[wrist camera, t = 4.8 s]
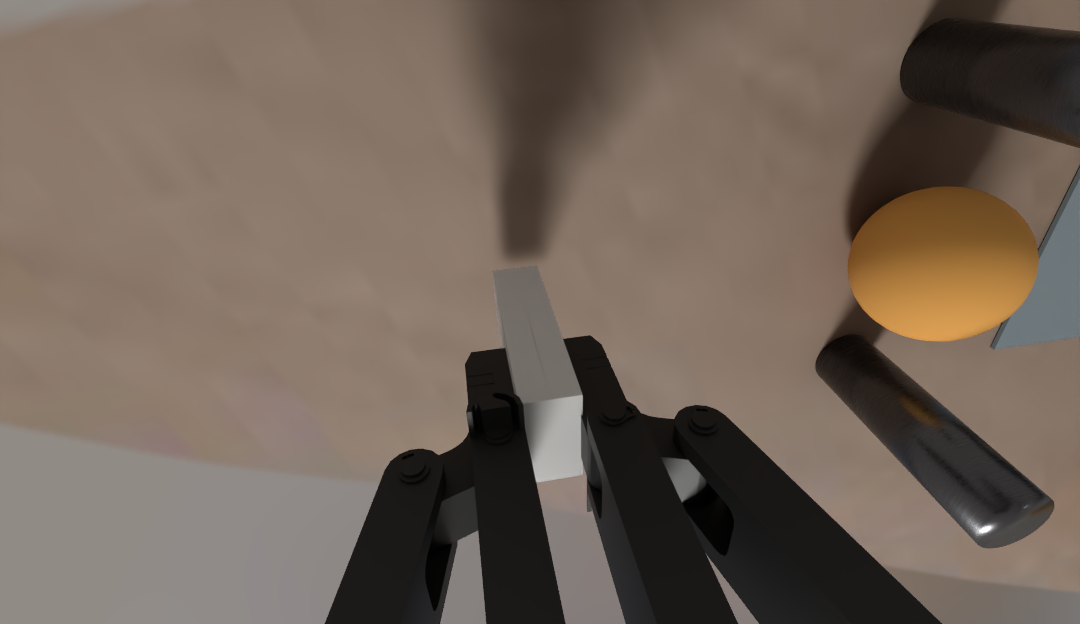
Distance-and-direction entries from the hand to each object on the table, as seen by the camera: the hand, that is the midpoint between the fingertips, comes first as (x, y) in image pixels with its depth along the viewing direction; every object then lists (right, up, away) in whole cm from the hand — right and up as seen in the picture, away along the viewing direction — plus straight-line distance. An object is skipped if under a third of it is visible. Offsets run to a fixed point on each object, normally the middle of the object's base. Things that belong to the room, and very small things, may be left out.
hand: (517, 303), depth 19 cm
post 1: (+14, +8, 0) cm, 16 cm away
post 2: (+15, -2, +7) cm, 16 cm away
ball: (+15, +1, +1) cm, 15 cm away
